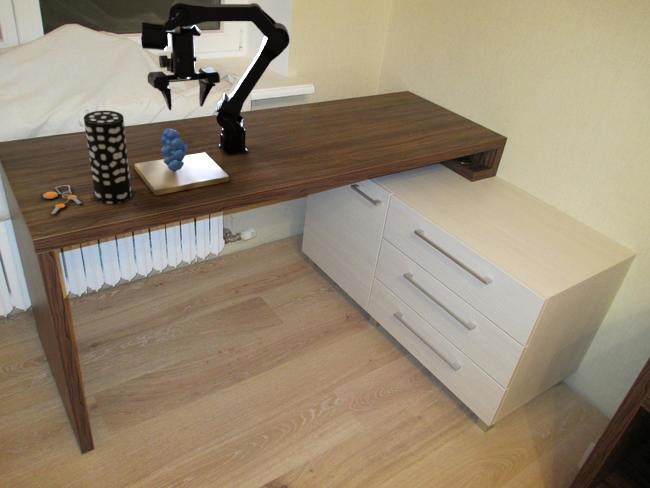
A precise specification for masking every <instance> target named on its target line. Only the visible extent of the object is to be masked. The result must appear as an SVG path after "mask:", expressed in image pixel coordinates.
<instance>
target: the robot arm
mask: <svg viewBox="0 0 650 488" xmlns="http://www.w3.org/2000/svg"><path fill="white" fill-rule="evenodd" d="M207 22H251V23H252V24H253V25H254V26H256V28H257V29H258V30H259V31H260V32H261V33H262V35H263V36H264V37H263V39H262V42H261V45H260V48H259V50H258V52H257V54H256V56H255V57H254V58H253V60H252V62H251V64H250V65H249V66H248V68H247V70H246V71H245V72H244V74H243V76H242V77H241V79H239V82H238V84H237V85H236V87H235V88H234V89H233V91H232V92H231V93H230V94H228V95H227V94H226V93H225V92H223V94H222V97H221V99H220V100H219V101H218V102H217V103H216V108H215V109H216V110H215V112H216V116H215V117H216V118H215V119H216V123H217V124H218V125H219V126H220V127H221V134H219V142H220V143H219V148H220V149H221V150H222V151H224V153H225V154H226V155H235V154H241V153H247V152H248V151H249V149H248V148H247V147H246V135H247V134H246V133H247V131H246V129H245V117H243V116H242V115H241V112H242V109H243V106H244V103H245V102H246V100H247V99H248V97H249V96H250V94H251V93H252V91H253V90H254V88H255V87H256V85H257V84H258V82H259V81H260V79H261V77H262V76H263V74H264V73H265V71H266V70H267V69H268V67H269V65H270V64H271V62H273V61H274V60H275V59H277V57H279V56H280V55H281V54H282V53H284V51H285V49H287V48H288V46H289V44H290V40H291V39H290V35H289V31H288V29H287V27H286V26H285V24H283V23H281V22H277V21H276V20H275V19H273V17H272V16H270V15H269V14H268V13H267V12H266V11H264V9H263V8H262V6H261V5H259V3H255V2H252V3H204V2H200V1H196V0H174V2H173V3H172V5H171V7H170V9H169V16H168V17H167V18H165V20H164V22H154V21H149V20H142V22H141V36H140V43H141V48H142V49H143V50H154V51H166V50H167V47H168V48H169V47H170V46H171V49H172V50H171V51H172V52H170V58H169V57H168V55H167V54H166V55H165V54H164V55H159V56H158V62H159V67H160V69H165V68H166V72H169V73H171V74H166V73H165V72H164V71H161V70H159V71H150V72H148V74H147V75H146V78H147V83H148V84H149V85H150V86H151V87H153V88H154V89H156V90H158V91H159V92H160V93H161V94H162V97H163V99H164V102H165V104H166V106H167V109H168V110H169V111H172V106H173V105H172V104H173V103H172V90H171V87H169V86H170V83H178V82H191V81H198V84H199V94H198V96H199V98H198V99H199V100H198V101H199V106H200V107H201V108H202V107H204V105H205V102H206V100H207V98H208V96H209V94H210V92H211V91H212V89H213V87H216V85H217V84H219V83H221V75H220V73H219V72H218V71H217V70H215V69H214V68H213V67H201V68H199V69H198V72H196V65H195V64H196V62H197V57H196V56H195V37H201V34H202V30H201V29H200V28H198V26H197V25H199V24H202V23H207ZM177 28H179V29H177Z"/></svg>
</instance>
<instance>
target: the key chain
mask: <svg viewBox="0 0 650 488" xmlns="http://www.w3.org/2000/svg"><path fill="white" fill-rule="evenodd" d="M63 187H68V190H66V191H64V192H60V191H59V189H58V188H63ZM54 189H55V190H56V191H46V192H44V193H42V197H43V199H45V200H46V199H47V200H50V199H51V200H52V199H55V198H58V196H59V195H61V197H62V199H64V200H65V199H66V201H65V202H63V203H57V204H55V205H54V208H53V210H52V212H50V214H51V215H55V214H57V212H58V211H59V210H60V209H64V208H65V207H66V204H67V203H68V202H69V201H70V200H71V201H73V202H75V203H76V204H77V205H81V204H82V202H81V201H80V199H78V196H77V195H76V194H72V193H73V192H72V191H71V186H70V184H64V185H58V186H55V187H54Z"/></svg>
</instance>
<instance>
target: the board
mask: <svg viewBox="0 0 650 488" xmlns="http://www.w3.org/2000/svg"><path fill="white" fill-rule="evenodd" d="M164 159H165V158H162V159H155V160H150V161H143V162H137V163H134V164H133V165H134V170H135V171H136V172H137V174H138V175H139V177H140V178H141V179H142V180H143V182H144V183H145V184H146V185H147V187H148V189H150V191H151V192H152V193H153V194H154V195H155V196H161V195H166V194H171V193H175V192H181V191H186V190H192V189H196V188H201V187H207V186H213V185H218V184H222V183H227V182H230V176H229V174H227V172H225V170H223V168H221V166H219V165H218V164H217V163H216V162H215V161H214V159H212V158H211V157H210V156H209V155H208V153H206V152H199V153H193V154H186V155H185V157H184V159H183V160H182V161H183V162H184V164H183V166H182V168H181V169H180V170H177V171H175V172H174V171H171V170H170V169H169V168H168V165H166V164H165V163H164Z"/></svg>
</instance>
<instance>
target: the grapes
mask: <svg viewBox="0 0 650 488" xmlns="http://www.w3.org/2000/svg"><path fill="white" fill-rule="evenodd" d="M180 135H181V134H180V133H179V132H178V131H177V130H176V129H172V128H169V127H167V128H166V129H164V131H163V133H162V136H161V138H160V140H159V141H160V143H162V144H163V146H162V148H161V150H160V153H161V154H162V155H163V156H165V157H164V158H163V159H164V163H165V164H166V165H168V168H169V169H170V170H171V171H174V172H175V171H177V170H180V169H181V168H182V166H183V164H184V162H183V161H182V160H183V159H184V157H185V156H186V155H187V154H186V153H187V151H188V150H189V146H188V145H187V144H186V143H185V142H184V141H183V140H182V139H181V138H179V137H180Z"/></svg>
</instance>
